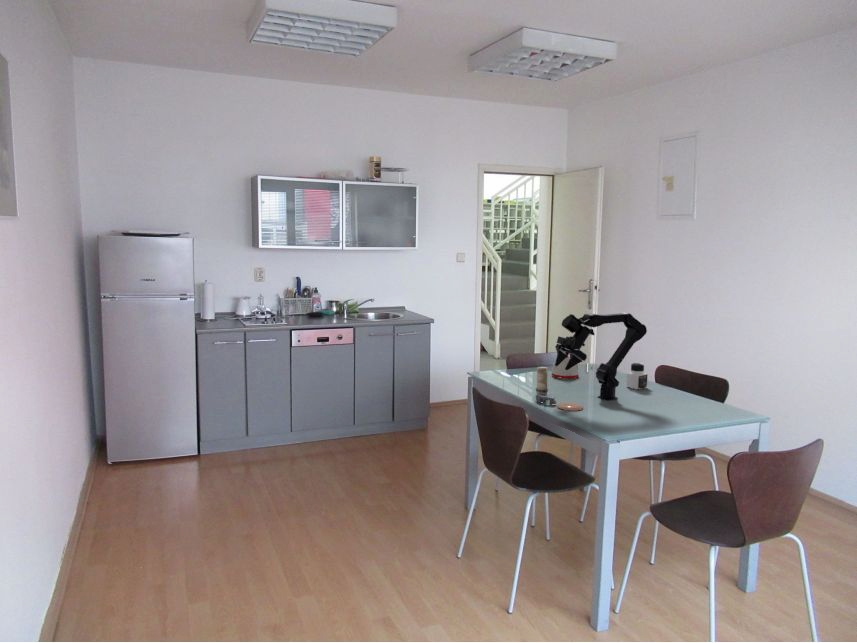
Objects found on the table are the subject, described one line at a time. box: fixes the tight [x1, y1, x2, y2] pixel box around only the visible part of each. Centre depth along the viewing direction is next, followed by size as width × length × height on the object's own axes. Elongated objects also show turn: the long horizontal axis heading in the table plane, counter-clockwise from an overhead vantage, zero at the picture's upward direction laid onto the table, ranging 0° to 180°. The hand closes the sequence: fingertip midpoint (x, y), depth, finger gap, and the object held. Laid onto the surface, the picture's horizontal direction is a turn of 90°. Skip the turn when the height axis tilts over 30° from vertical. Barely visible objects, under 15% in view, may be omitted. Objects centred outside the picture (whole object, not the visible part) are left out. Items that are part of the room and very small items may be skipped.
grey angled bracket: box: [536, 392, 557, 405], centre depth 286 cm, size 7×13×3 cm, turn 30°
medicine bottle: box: [625, 362, 649, 390], centre depth 315 cm, size 7×7×12 cm
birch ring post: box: [535, 366, 549, 396], centre depth 298 cm, size 6×6×13 cm
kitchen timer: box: [551, 354, 579, 379], centre depth 339 cm, size 14×14×15 cm
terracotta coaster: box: [556, 402, 584, 412], centre depth 278 cm, size 11×11×1 cm
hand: (560, 367), depth 285 cm, fingers open, 9 cm apart
